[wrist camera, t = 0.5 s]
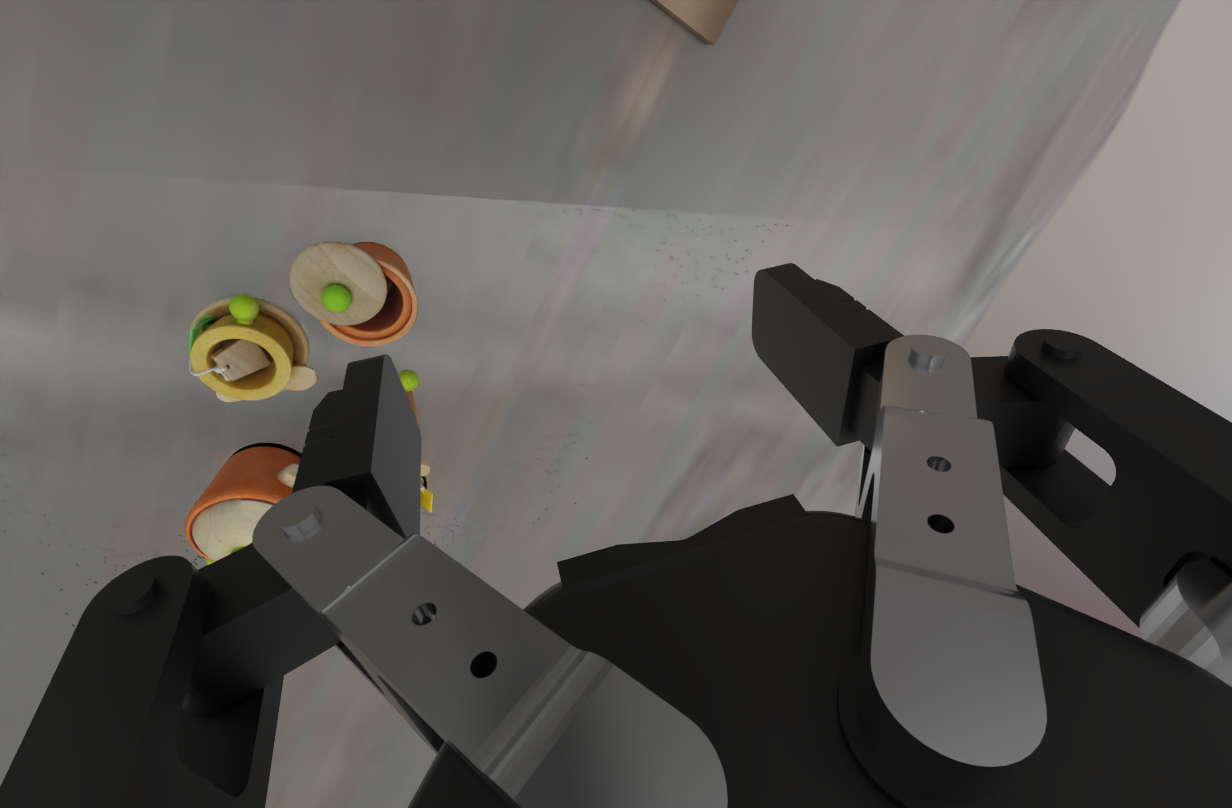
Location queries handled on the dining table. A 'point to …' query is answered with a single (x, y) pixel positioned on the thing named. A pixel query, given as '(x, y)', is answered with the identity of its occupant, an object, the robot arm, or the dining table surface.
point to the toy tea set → (289, 372)
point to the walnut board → (700, 15)
